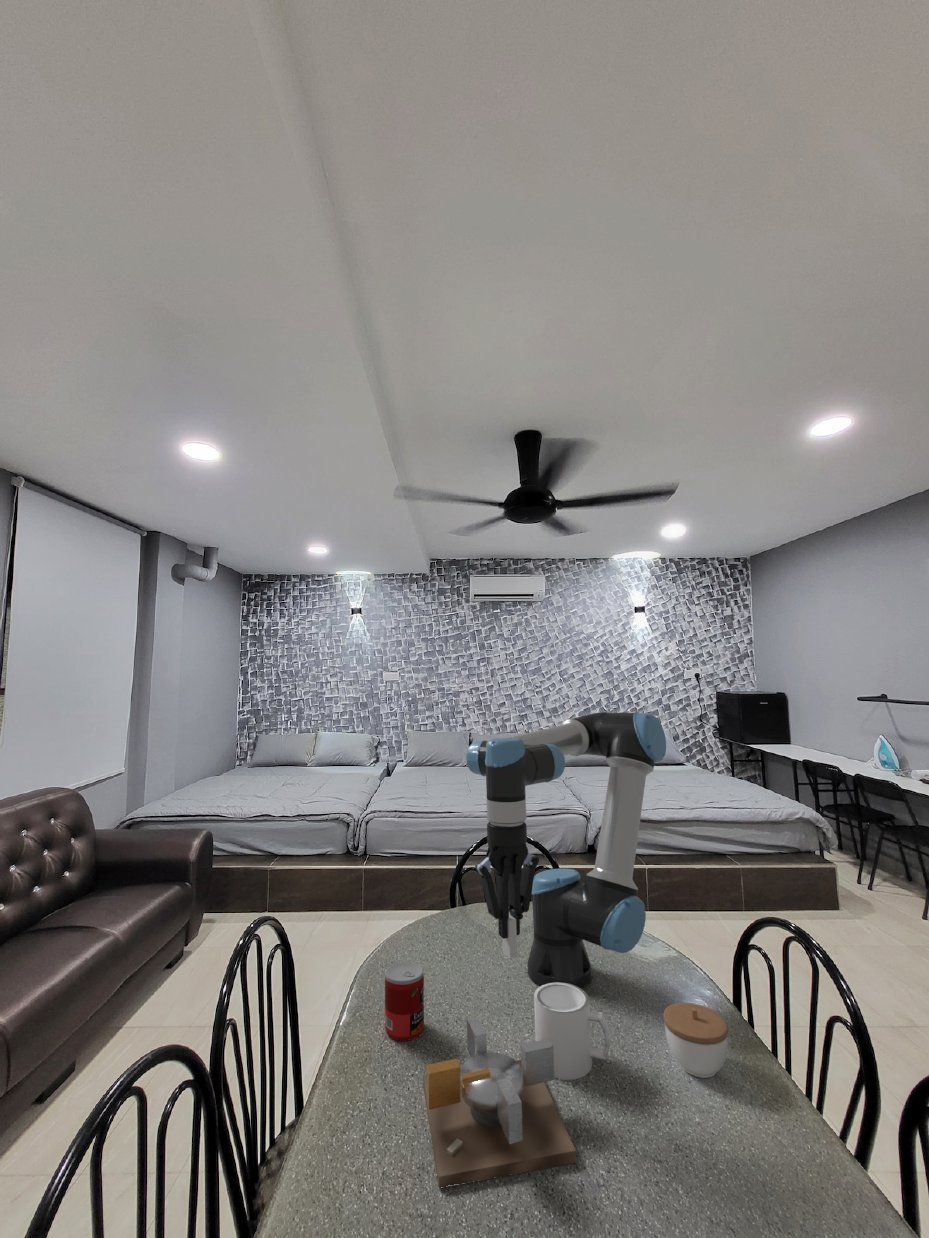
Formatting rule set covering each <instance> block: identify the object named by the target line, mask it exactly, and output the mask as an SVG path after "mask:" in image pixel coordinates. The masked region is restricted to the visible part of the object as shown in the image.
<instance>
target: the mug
mask: <svg viewBox="0 0 929 1238" xmlns="http://www.w3.org/2000/svg"><path fill="white" fill-rule="evenodd" d="M533 994H534V995H533V1001H534V1002H533V1003H534V1004H533V1006H534V1007H533V1009H534V1031H535V1032H534V1037H535V1041H534V1042H536V1041H540V1040H545V1039H549V1041H550V1042H551V1044H552V1045H553V1051H554V1078H556V1079H558V1080H564V1081H565V1080H568V1081H570V1080H571V1081H572V1080H576V1079H578V1080H579V1079H580V1078H583V1077H584V1076H586V1075H588V1074H589V1072H591V1069H592V1066H593V1059H595V1060H599V1061H605V1062H606V1061H607V1058H608V1054H609V1050H610V1045H611V1044H610V1043H611V1040H610V1036H611V1035H610V1027H609V1024H608V1022H607V1020H606V1018H605V1015H604V1014H603V1012H602V1011H596V1010H590V998H589V995H588V993H587V992H586V991H584V990H583V989H582V988H579V987H577V986H575V985H572V984H568V983H560V982H555V983H548V984H545V985H542V986H540V985H539V986H538V988H536V989H535V991H534V993H533ZM591 1022H596V1023H599V1025H600V1027H601V1030H602V1031H603V1034H604V1035H603V1036H604V1046H603V1048H598V1047H593V1046H592V1034H591V1029H592V1028H591Z"/></svg>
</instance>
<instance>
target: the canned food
mask: <svg viewBox="0 0 929 1238" xmlns="http://www.w3.org/2000/svg"><path fill="white" fill-rule="evenodd" d="M384 974H385V975H384V1027H385V1028H384V1029H385V1032H386V1034H387V1036H388V1037H389V1038H391V1039H392V1040H396V1041H401V1042H403V1041H404V1042H405V1041H410V1040H413V1039H416V1038H417V1037H419V1036H420V1035H421V1034H422V1033H423V1030H424V1027H425V1018H424V1017H425V983H424V982H425V980H424V979H425V977H424V975H425V973H424V968H423V967H422V966H421V965H420V964H418V963H416V962H410V961H403V962H402V961H401V962H397V963H394V964H391V965H390V966H389V967H387V968H386V970H385V973H384Z"/></svg>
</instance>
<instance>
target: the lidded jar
mask: <svg viewBox="0 0 929 1238" xmlns="http://www.w3.org/2000/svg"><path fill="white" fill-rule="evenodd" d="M663 1023H664V1032H665V1038H666V1042H667V1046H668V1047H669V1050H670V1052H671V1055H672V1056H673V1058H674V1059H675V1060H676V1062H678V1064H679V1065H680V1067H681V1068H682V1069H683V1071H685V1072H686V1073H687V1074H689V1075H691V1076H693V1077H696V1078H699V1079H701V1078H703V1079H710V1078H712V1077H714V1076H715V1075H716V1074H717V1073H718V1072H719V1071H720V1070H721V1069H722V1068H723V1066H724V1064H725V1063H726V1060H727V1056H728V1048H729V1047H728V1046H729V1045H728V1043H729V1040H728V1035H729V1033H728V1031H729V1030H728V1024H727V1022H726V1021H725V1019H724V1018H723V1017H722V1016H721V1015H720V1014H719V1013H718V1012H717V1011H715V1010H713V1009H711V1008H709V1007H706V1006H704V1005H702V1004H698V1003H694V1002H693V1003H692V1002H675V1003H673V1004H670V1005H668V1006H667V1007H666V1008H665V1009H664V1011H663Z"/></svg>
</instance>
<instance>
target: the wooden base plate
mask: <svg viewBox="0 0 929 1238" xmlns="http://www.w3.org/2000/svg"><path fill="white" fill-rule="evenodd" d="M515 1061H516V1062H517V1063H518V1064H519V1065H520V1067H521V1059H518V1060H515ZM461 1069H462V1068H460V1096H461V1102H460V1103H456V1104H452V1105H448V1106H444V1107H440V1108H435V1109H431V1110H429V1108H428V1104H427V1101H426V1074H423V1075H422V1086H423V1087H422V1088H423V1093H424V1098H425V1106H426V1112H427V1119H428V1125H429V1132H430V1133H429V1134H430V1138H431V1146H432V1151H433V1158H434V1164H435V1171H436V1177H437V1184H439V1185H438V1189H439V1188H441V1187H446V1186H448V1185H454V1184H462V1183H468V1182H473V1181H478V1180H483V1181H487V1180H488V1181H489V1180H493V1179H495V1178H494V1177H498V1178H502V1177H501V1176H504V1177H506V1176H505V1175H509V1176H511V1175H510V1174H514V1175H517V1174H518V1173H519V1174H523V1173H522V1172H524V1173H528V1171H529V1172H534V1171H539V1170H544V1169H548V1168H553V1167H554V1168H556V1167H559V1166H565V1165H570V1164H574V1163H577V1150H576V1148H575V1146H574V1144H573V1141H572V1139H571V1137H570V1135H569V1133H568V1131H567V1128H566V1126H565V1124H564V1122H563V1120H562V1118H561V1115H560V1113H559V1111H558V1109H557V1107H556V1104H555V1103H554V1100H553V1099H552V1096H551V1094H550V1092H549V1090H548V1087H547V1086H546V1082H543V1083H539V1084H535V1085H531V1086H526V1085H525V1083H524V1082H523V1097H522V1099H521V1101H522V1133H523V1141H520V1142H516V1143H513V1144H509V1142H508V1140H507V1137H506V1135H505V1133H504V1131H503V1128H502V1126H501V1124H500V1122H499V1119H498V1114H484V1113H480V1112H477V1111H475V1110H473V1109H472V1108H470V1107H469V1106H468V1105H467V1104H466V1103H465V1102H464V1100H463V1098H462V1095H461ZM532 1170H533V1171H532ZM526 1171H527V1172H526ZM516 1173H517V1174H516ZM519 1174H518V1175H519ZM490 1178H491V1179H490ZM492 1178H493V1179H492ZM478 1182H479V1181H478ZM473 1183H474V1182H473ZM468 1184H469V1183H468Z"/></svg>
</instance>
